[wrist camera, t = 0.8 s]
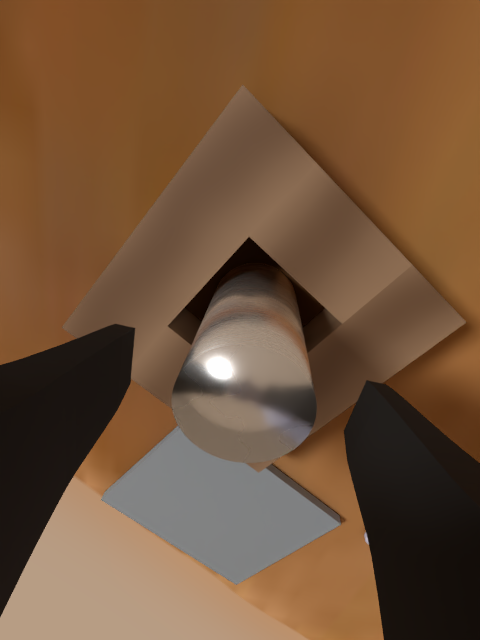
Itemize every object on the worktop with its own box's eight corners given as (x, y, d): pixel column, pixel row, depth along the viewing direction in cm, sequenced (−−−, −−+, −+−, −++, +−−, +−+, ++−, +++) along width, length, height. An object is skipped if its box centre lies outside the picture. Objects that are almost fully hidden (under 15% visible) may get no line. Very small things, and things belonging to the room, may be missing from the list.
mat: (339, 515, 22) (341, 524, 22) (236, 575, 26) (236, 584, 25) (197, 408, 20) (195, 415, 19) (104, 491, 23) (100, 499, 23)
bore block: (438, 299, 16) (466, 322, 14) (260, 438, 20) (258, 472, 18) (247, 98, 13) (242, 84, 11) (89, 306, 18) (61, 327, 15)
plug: (314, 302, 16) (348, 410, 9) (257, 353, 18) (247, 482, 11) (253, 245, 16) (237, 314, 8) (198, 304, 17) (143, 407, 10)
